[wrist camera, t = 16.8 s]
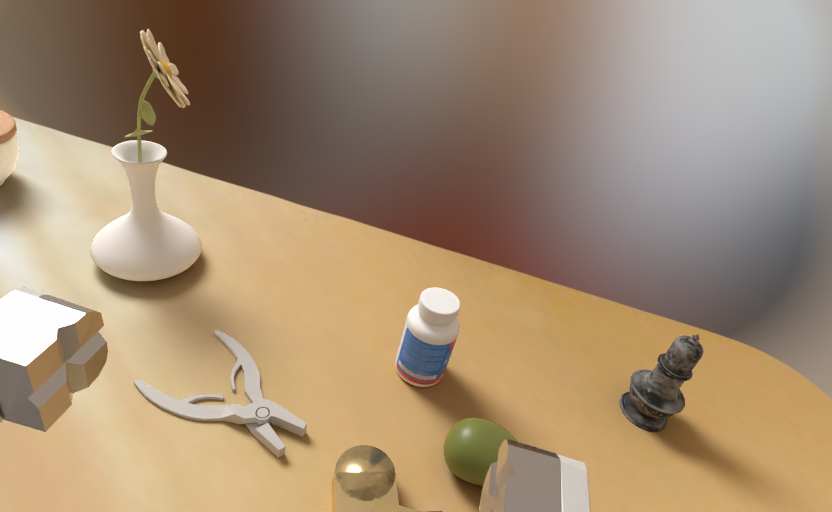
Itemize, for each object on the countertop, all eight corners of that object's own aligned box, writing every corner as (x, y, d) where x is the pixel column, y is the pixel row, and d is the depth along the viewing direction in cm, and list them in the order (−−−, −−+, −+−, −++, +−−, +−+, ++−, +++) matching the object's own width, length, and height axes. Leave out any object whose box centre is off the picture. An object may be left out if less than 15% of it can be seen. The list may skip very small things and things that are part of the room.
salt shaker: (658, 394, 63) (712, 319, 56) (677, 438, 58) (739, 361, 51) (610, 386, 62) (659, 309, 55) (625, 429, 57) (681, 351, 50)
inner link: (331, 458, 47) (334, 445, 46) (387, 458, 48) (392, 445, 47) (334, 574, 40) (337, 562, 39) (400, 571, 41) (405, 558, 40)
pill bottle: (446, 390, 56) (472, 323, 51) (396, 387, 55) (416, 318, 50) (439, 351, 61) (462, 285, 55) (392, 348, 60) (410, 280, 54)
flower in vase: (180, 299, 59) (169, 71, 44) (71, 280, 57) (23, 40, 43) (219, 233, 69) (220, 32, 55) (127, 216, 68) (104, 6, 54)
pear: (465, 396, 49) (563, 444, 49) (441, 428, 52) (534, 474, 52) (453, 446, 44) (562, 499, 44) (428, 478, 47) (530, 527, 47)
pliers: (219, 322, 55) (331, 402, 50) (219, 333, 56) (329, 413, 51) (130, 376, 48) (251, 477, 43) (132, 388, 49) (250, 488, 44)
